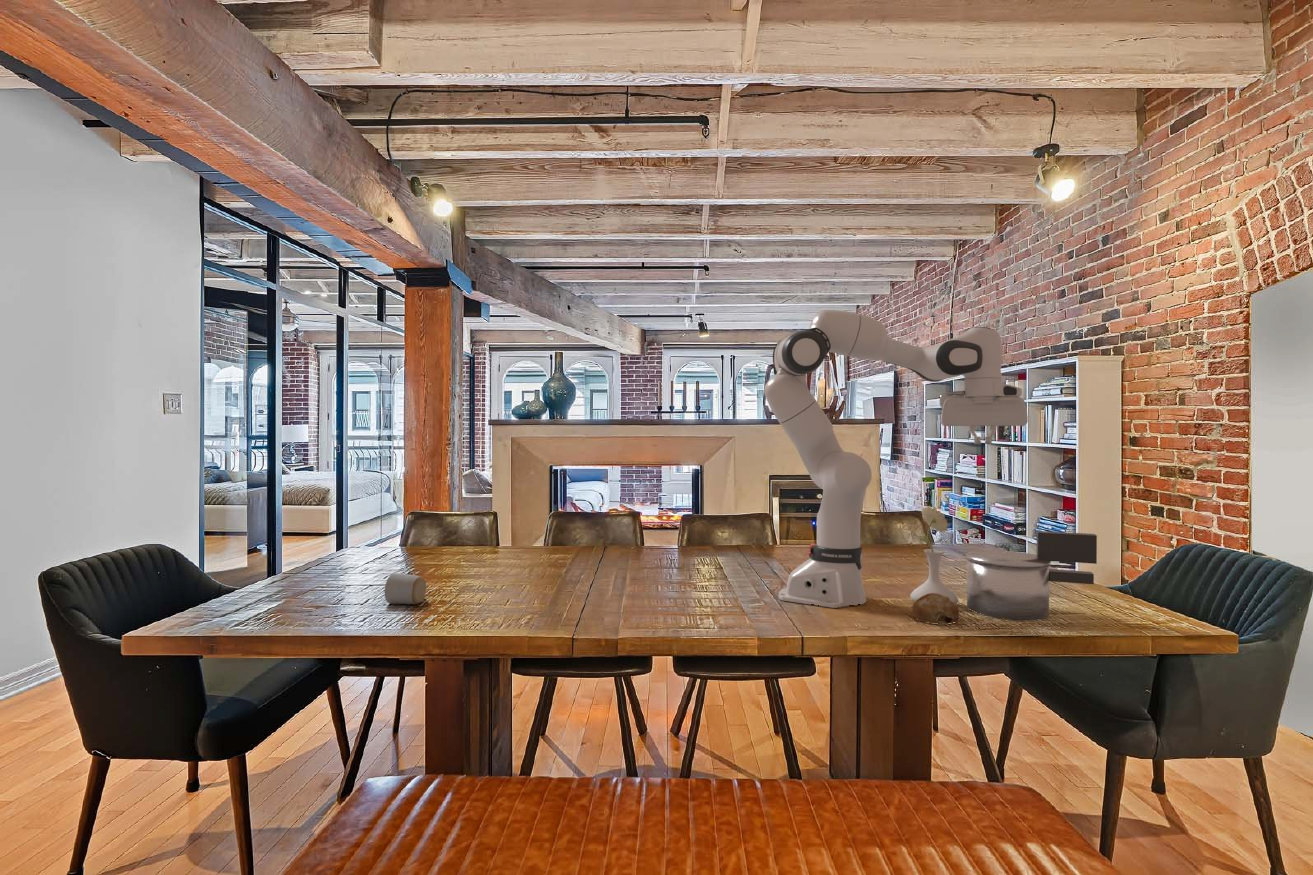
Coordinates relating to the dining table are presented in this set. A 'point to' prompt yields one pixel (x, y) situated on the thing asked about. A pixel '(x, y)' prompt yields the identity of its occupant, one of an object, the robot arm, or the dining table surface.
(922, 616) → the bread roll
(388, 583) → the ceramic mug
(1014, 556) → the cooker lid
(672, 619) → the dining table surface
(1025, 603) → the cooker pot
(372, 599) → the dining table surface
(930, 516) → the flower in vase
